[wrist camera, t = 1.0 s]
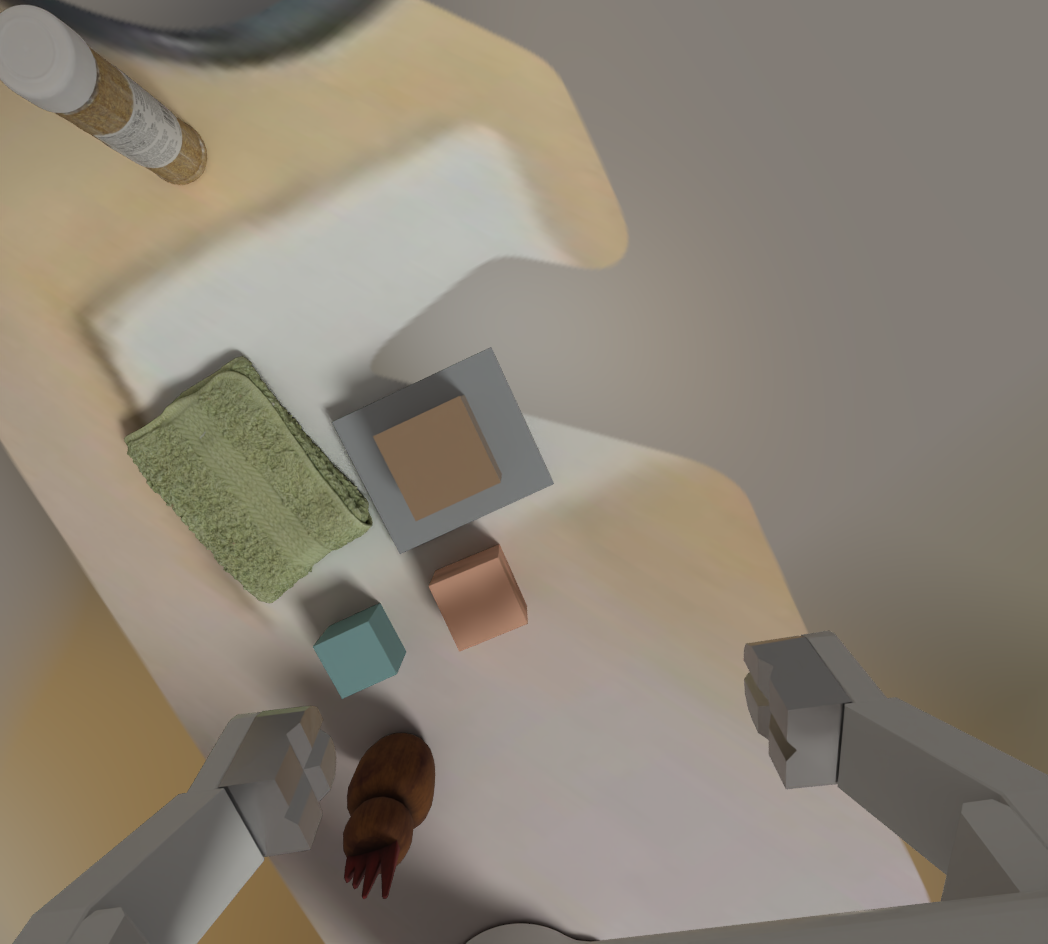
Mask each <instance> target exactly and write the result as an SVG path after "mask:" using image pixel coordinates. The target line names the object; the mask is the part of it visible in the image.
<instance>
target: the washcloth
mask: <svg viewBox="0 0 1048 944" xmlns="http://www.w3.org/2000/svg"><path fill="white" fill-rule="evenodd" d="M124 441H125V443H126V444H127V446H128V452H127V454H128V455H129V456H130V457H131V458H132V459H133V463H134V464H136V465H137V466H138V468H139V472H141V473H142V475H143V476H144V477H145V478H146V479H147V482H146V483H147V484H148V485H149V486H150V488H152V490H153V491H154V492H155V493H158V494H160V495H161V498H162V499H163V500H164V501H165V502H166V503H167V504H166V505H167V506H170V507H172V509H173V510H174V512H175V513H176V515H177V516H179V517H181V520H182V522H183V523H185V525H188V526H189V530H190V531H192V532H193V533H195V536H196V538H197V539H199V541H200V542H201V543H202V544H204V546H205V547H207V548H206V549H207V550H211V552H212V553H213V555H214V558H215V560H217V562H218V564H219V565H222V566H224V569H223V570H225V572H228V573H230V574H231V575H232V576H233V577H234V579H236V580H238V581H239V582H240V583H241V584H242V585H244V586H243V589H245V590H247V591H248V592H250V593H251V594H252V595H253V596H255V597H256V598H257V599H258V600H259V601H262V602H265V603H273V602H274V601H275V600H277V599H279V597H281V596H282V595H283V593H284V592H285V591H287V589H288V588H291V587H293V586H294V583H296V582H297V581H298V580H299V579H300V578H303V577H304V576H306V575H308V572H309V571H310V572H312V566H313V565H314V564H315V563H317V562H319V561H320V560H321V559H322V558H324V557H325V556H326V555H327V554H328V553H330V552H331V551H332V550H337V549H339V548H342V547H343V546H344V545H346V544H347V542H351V541H353V540H354V539H356V538H358V537H361V536H362V535H363V534H364V533H366V532H367V531H368V529H369V528H370V527H371V526H372V523H373V522H372V518H371V516H370V514H369V512H368V506H369V504H368V501H367V499H366V498H364V497H363V496H362V495H361V494H360V493H359V491H358V489H357V486H355V485H353V484H352V483H351V482H350V481H348V480H347V478H346V477H344V475H343V474H342V473H341V472H339V471H338V469H337V468H335V467H334V466H333V465H332V463H331V462H330V461H329V460H328V457H327V456H325V454H324V453H322V451H321V450H320V448H319V447H317V446H316V445H315V444H314V443H312V441H311V439H310V438H309V437H308V436H306V433H305V432H304V431H303V430H301V425H299V424H298V423H297V422H296V419H294V418H293V419H292V415H290V414H288V412H287V409H284V408H283V406H282V407H281V405H279V401H278V400H277V399H276V397H275V396H274V395H273V393H272V392H271V391H270V390H268V388H267V386H266V384H265V383H264V382H263V381H261V380H260V375H259V374H258V373H257V372H256V371H255V369H254V368H253V367H252V363H251V362H250V361H249V360H247V359H246V358H244V357H243V356H241V357H237V358H235V359H234V360H232V361H230V362H229V363H227V364H226V365H224V366H223V367H222V368H221V369H220V370H218V371H217V372H215V373H214V374H212V375H211V376H208V377H207V378H205V379H204V380H202V381H200V382H198V383H197V384H196V385H194V386H192V387H191V388H189V389H188V390H186V391H184V392H183V393H181V395H180V396H179V397H178V398H176V399H175V400H174V402H173V403H172V404H170V405H169V406H167V407H166V408H165V410H164V411H163V413H162V414H161V415H159V416H158V417H157V418H156V419H154V420H153V421H152V422H150V423H148V424H147V425H146V426H144V427H143V428H141V429H139V430H137V431H135V432H133V433H131V434H129V435H127V436H126V437H125V438H124Z"/></svg>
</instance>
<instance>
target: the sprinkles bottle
mask: <svg viewBox="0 0 1048 944" xmlns="http://www.w3.org/2000/svg"><path fill="white" fill-rule="evenodd" d="M0 79H1V81H2V82H3V83H4V84H5V85H6V86H7V87H8V88H10V89H11V90H12V91H14V92H15V93H17V94H18V95H20V96H21V97H23V98H25V99H26V100H28V101H30V102H31V103H33V104H35V105H36V106H38V107H40V108H42V109H44V110H47V111H50V112H54V113H56V114H58V115H59V116H61V117H63V118H64V119H66V120H68V121H70V122H71V123H73V124H74V125H76V126H77V127H79V128H80V129H82V130H84V131H85V132H87V133H89V134H91V135H92V136H94V137H95V138H97V139H99V140H100V141H102V142H103V143H104V144H106V145H107V146H109V147H110V148H112V149H114V150H115V151H117V152H119V153H120V154H122V155H124V156H125V157H127V158H129V159H130V160H132V161H134V162H136V163H137V164H139V165H141V166H144V167H146V168H148V169H149V170H151V171H152V172H154V173H155V174H157V175H158V176H159V177H160V178H161V179H163V180H165V181H167V182H170V183H172V184H178V185H180V184H181V185H185V184H188V183H190V182H193V181H195V180H196V179H197V178H199V177H200V175H201V174H202V173H203V172H204V169H205V167H206V161H207V151H206V147H205V144H204V142H203V140H202V139H201V137H200V135H199V134H198V133H197V132H196V131H195V130H194V129H193V128H192V127H191V126H189V125H187V124H185V123H183V122H182V121H181V120H180V119H178V118H177V117H176V116H174V115H173V113H172V112H171V111H170V110H169V109H167V108H166V107H165V106H164V105H163V104H161V103H160V102H159V101H158V100H156V99H155V98H154V97H153V96H151V95H150V94H149V93H148V92H147V91H145V90H144V89H143V88H142V87H140V86H139V85H138V84H137V83H136V82H134V81H133V80H132V79H130V78H129V77H128V76H127V75H125V74H124V73H123V72H122V71H120V70H119V69H118V68H117V67H115V66H114V65H112V64H110V63H109V62H108V61H106V60H105V59H104V58H102V57H101V56H100V55H98V54H97V53H96V52H94V51H93V50H92V49H91V48H90V47H89V46H88V45H87V43H86V42H85V41H84V40H83V39H82V38H81V36H80V35H78V34H77V33H76V32H75V31H74V30H72V29H71V28H70V27H69V26H67V25H66V24H65V23H63V22H62V21H61V20H59V19H58V18H57V17H55V16H54V15H53V14H51V13H50V12H48V11H46V10H44V9H42V8H39V7H36V6H31V5H17V6H13V7H10V8H8V9H6V10H4V11H3V12H2V13H0Z"/></svg>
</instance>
